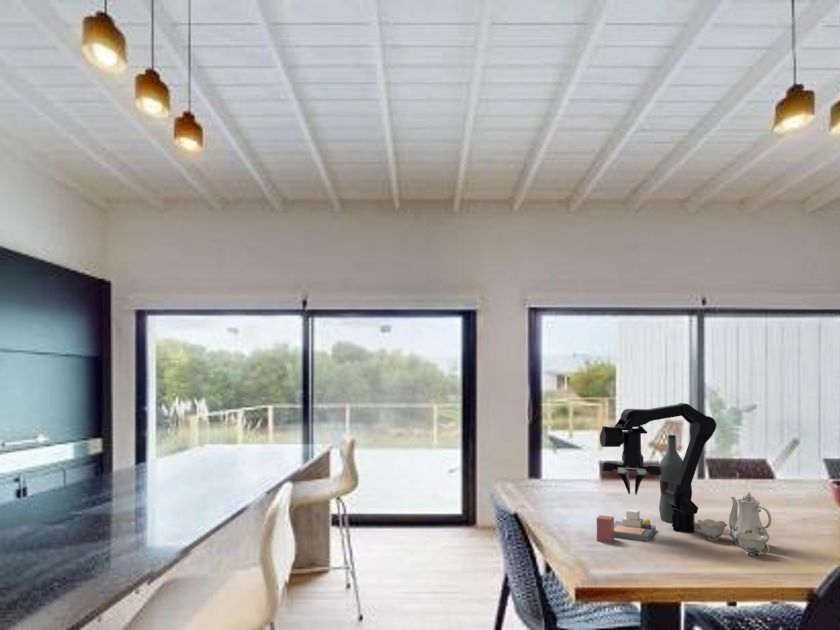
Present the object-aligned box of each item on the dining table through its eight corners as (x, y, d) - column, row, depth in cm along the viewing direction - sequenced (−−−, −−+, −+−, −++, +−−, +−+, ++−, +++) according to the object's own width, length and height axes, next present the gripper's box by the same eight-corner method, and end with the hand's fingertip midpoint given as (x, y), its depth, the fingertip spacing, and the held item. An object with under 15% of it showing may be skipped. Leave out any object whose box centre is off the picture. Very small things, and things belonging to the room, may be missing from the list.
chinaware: (688, 541, 223) (683, 490, 223) (728, 532, 228) (723, 482, 229) (758, 566, 196) (752, 507, 197) (801, 555, 202) (796, 498, 203)
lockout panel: (655, 530, 231) (655, 516, 231) (647, 541, 216) (647, 526, 217) (616, 525, 237) (615, 512, 237) (605, 535, 222) (605, 522, 223)
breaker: (639, 519, 231) (639, 510, 231) (637, 521, 227) (637, 512, 228) (628, 518, 232) (628, 509, 232) (626, 520, 229) (626, 511, 229)
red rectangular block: (614, 539, 218) (613, 516, 219) (611, 542, 215) (610, 519, 215) (600, 537, 220) (599, 515, 221) (596, 540, 217) (596, 518, 217)
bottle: (660, 522, 242) (659, 436, 244) (658, 516, 250) (656, 433, 252) (689, 524, 239) (687, 437, 241) (685, 518, 248) (684, 434, 250)
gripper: (664, 446, 234) (665, 492, 233) (609, 442, 243) (609, 487, 242) (659, 449, 224) (660, 498, 223) (601, 446, 233) (602, 493, 232)
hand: (632, 494), depth 230 cm, fingers closed
